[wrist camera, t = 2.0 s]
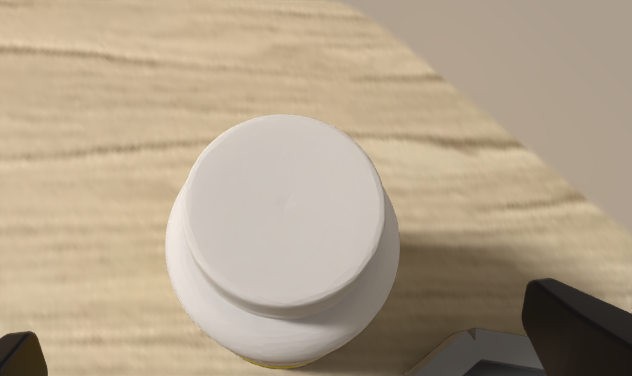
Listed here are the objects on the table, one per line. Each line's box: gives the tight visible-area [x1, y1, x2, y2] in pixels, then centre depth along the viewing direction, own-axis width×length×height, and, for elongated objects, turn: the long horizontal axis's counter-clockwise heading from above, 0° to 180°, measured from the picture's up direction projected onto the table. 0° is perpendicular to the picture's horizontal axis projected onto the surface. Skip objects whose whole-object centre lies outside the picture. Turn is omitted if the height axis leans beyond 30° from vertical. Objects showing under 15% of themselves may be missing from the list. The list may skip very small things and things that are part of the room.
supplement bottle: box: [165, 114, 400, 369], centre depth 14 cm, size 6×6×10 cm
